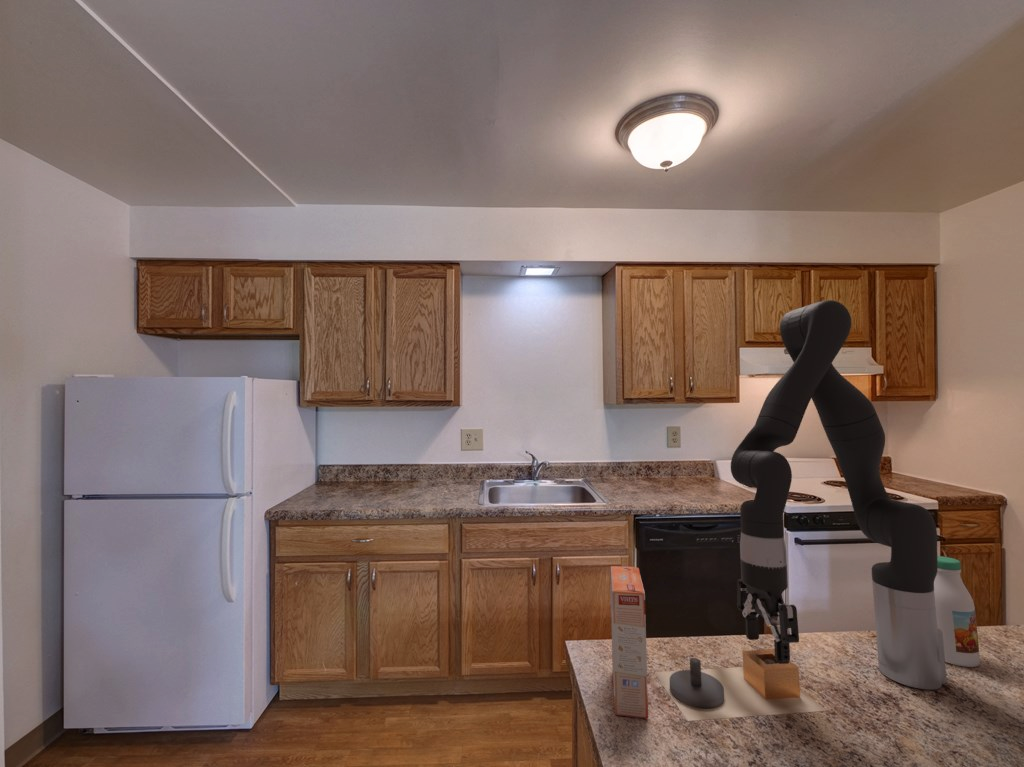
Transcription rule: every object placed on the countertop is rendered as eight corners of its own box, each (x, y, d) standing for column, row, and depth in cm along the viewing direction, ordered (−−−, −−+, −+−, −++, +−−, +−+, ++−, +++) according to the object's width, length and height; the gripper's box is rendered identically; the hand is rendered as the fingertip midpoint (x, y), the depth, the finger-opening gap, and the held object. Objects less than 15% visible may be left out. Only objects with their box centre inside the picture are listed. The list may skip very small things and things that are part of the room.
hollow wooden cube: (776, 676, 86) (774, 648, 86) (800, 697, 79) (798, 667, 80) (743, 678, 85) (742, 650, 85) (765, 699, 79) (763, 669, 79)
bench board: (772, 672, 89) (770, 636, 90) (827, 720, 75) (824, 676, 76) (654, 680, 87) (652, 643, 88) (688, 730, 73) (686, 685, 74)
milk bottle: (938, 664, 91) (930, 562, 93) (921, 646, 99) (913, 551, 100) (989, 671, 89) (979, 566, 90) (967, 652, 96) (959, 555, 97)
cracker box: (650, 721, 76) (646, 592, 78) (614, 716, 77) (610, 590, 79) (643, 674, 90) (639, 565, 91) (612, 671, 91) (609, 564, 92)
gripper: (810, 571, 77) (815, 671, 76) (758, 547, 91) (761, 631, 90) (768, 572, 76) (772, 673, 75) (722, 548, 91) (725, 632, 89)
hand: (766, 650), depth 83 cm, fingers open, 8 cm apart
